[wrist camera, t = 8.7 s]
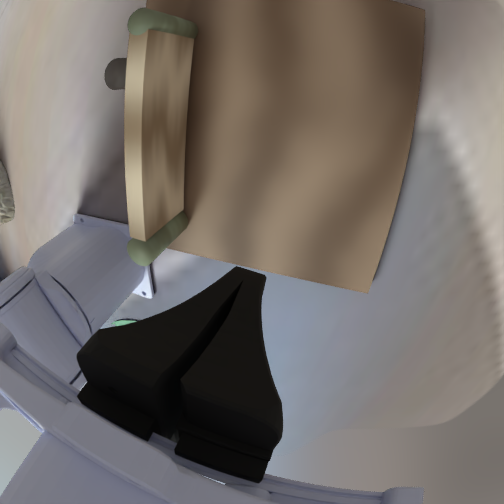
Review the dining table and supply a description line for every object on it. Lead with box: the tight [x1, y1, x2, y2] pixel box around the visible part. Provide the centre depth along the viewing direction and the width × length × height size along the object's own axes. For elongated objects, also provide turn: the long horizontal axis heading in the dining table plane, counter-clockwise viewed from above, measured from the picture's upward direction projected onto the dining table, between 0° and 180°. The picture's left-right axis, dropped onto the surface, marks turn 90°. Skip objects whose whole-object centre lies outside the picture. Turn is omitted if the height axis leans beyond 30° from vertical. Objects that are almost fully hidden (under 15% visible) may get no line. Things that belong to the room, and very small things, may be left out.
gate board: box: [105, 0, 425, 293], centre depth 16 cm, size 18×20×5 cm
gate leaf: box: [124, 8, 198, 266], centre depth 16 cm, size 16×2×5 cm, turn 174°
